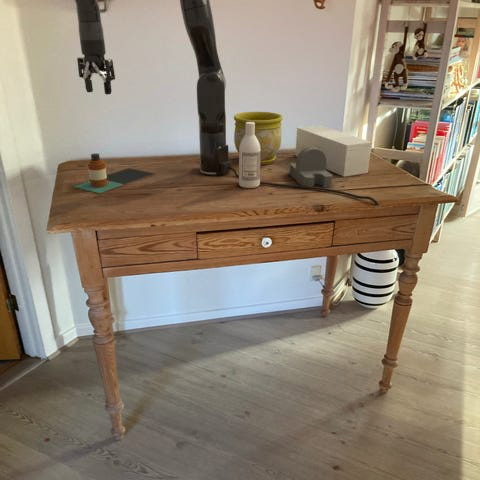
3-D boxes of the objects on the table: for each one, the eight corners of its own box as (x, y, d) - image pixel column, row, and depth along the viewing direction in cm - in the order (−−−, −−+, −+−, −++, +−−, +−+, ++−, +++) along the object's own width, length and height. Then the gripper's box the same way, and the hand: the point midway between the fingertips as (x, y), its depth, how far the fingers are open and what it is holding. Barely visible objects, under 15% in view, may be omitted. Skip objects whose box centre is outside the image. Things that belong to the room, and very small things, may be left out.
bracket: (305, 188, 172) (307, 155, 166) (288, 173, 187) (290, 142, 181) (332, 186, 174) (335, 153, 168) (314, 171, 188) (316, 141, 183)
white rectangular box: (367, 173, 187) (372, 142, 182) (343, 176, 183) (347, 145, 178) (317, 152, 212) (319, 125, 206) (295, 155, 208) (296, 127, 202)
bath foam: (263, 187, 173) (265, 123, 163) (244, 189, 170) (245, 125, 160) (253, 181, 178) (254, 119, 168) (235, 183, 176) (235, 121, 165)
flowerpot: (272, 169, 191) (274, 122, 182) (227, 164, 196) (226, 118, 188) (286, 157, 205) (288, 113, 197) (243, 153, 211) (243, 110, 202)
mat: (153, 174, 185) (153, 173, 185) (99, 193, 166) (99, 192, 166) (128, 169, 190) (128, 168, 190) (73, 187, 172) (73, 186, 172)
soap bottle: (111, 184, 174) (107, 153, 169) (99, 188, 170) (94, 157, 165) (99, 181, 176) (95, 151, 171) (87, 185, 172) (82, 154, 167)
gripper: (116, 38, 165) (122, 93, 174) (85, 36, 172) (92, 90, 180) (99, 39, 160) (106, 96, 168) (67, 37, 166) (75, 92, 175)
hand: (98, 93), depth 174 cm, fingers open, 8 cm apart
